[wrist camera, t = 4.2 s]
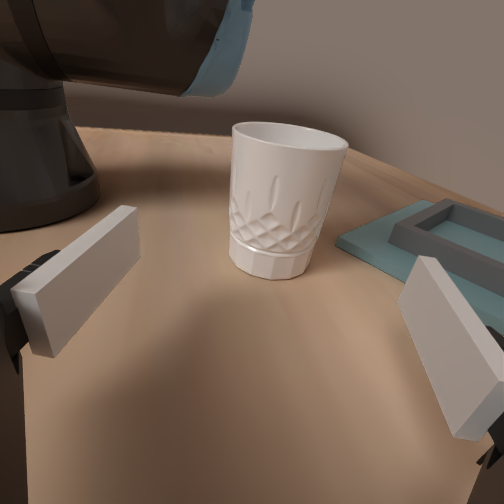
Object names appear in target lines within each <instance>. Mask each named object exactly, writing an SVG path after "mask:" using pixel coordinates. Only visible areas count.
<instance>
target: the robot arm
mask: <svg viewBox="0 0 504 504" xmlns="http://www.w3.org/2000/svg"><path fill="white" fill-rule="evenodd" d="M254 1H255V0H0V232H2V231H12V230H19V229H26V228H31V227H36V226H41V225H45V224H49V223H53V222H57V221H60V220H63V219H66V218H69V217H71V216H74V215H76V214H78V213H80V212H82V211H84V210H86V209H88V208H89V207H91V206H92V205H93V204H94V203H95V202H96V201H97V200H98V198H99V196H100V187H99V180H98V174H97V171H96V168H95V166H94V164H93V162H92V160H91V158H90V156H89V154H88V152H87V150H86V148H85V146H84V144H83V142H82V140H81V138H80V136H79V134H78V132H77V130H76V128H75V126H74V124H73V122H72V121H71V119H70V116H69V114H68V110H67V105H66V100H65V94H64V88H63V81H68V82H75V83H77V82H78V83H85V84H93V85H100V86H107V87H115V88H122V89H129V90H136V91H144V92H151V93H159V94H166V95H173V96H177V97H182V98H184V97H187V96H199V97H217V96H219V95H222V94H224V93H225V92H226V91H227V90H228V89H229V88H230V87H231V85H232V84H233V82H234V80H235V78H236V76H237V73H238V71H239V68H240V65H241V62H242V59H243V55H244V52H245V48H246V44H247V40H248V36H249V32H250V27H251V22H252V17H253V16H252V15H253V14H252V7H253V5H254ZM140 257H141V252H140V239H139V226H138V212H137V208H136V207H130V206H124V205H121V206H120V207H118V208H117V209H116V210H114V211H113V212H112V213H110V214H109V215H108V216H106V217H105V218H104V219H102V220H101V221H100V222H98V223H97V224H96V225H94V226H93V227H92V228H90V229H89V230H88V231H87V232H85V233H84V234H83V235H81V236H80V237H79V238H77V239H76V240H75V241H73V242H72V243H71V244H69V245H68V246H67V247H65V248H64V249H63V250H61V251H60V250H54V251H52V252H49V253H47V254H44V255H42V256H41V257H39V258H38V259H36V260H35V261H34V262H32V263H31V265H28V266H27V267H25V268H24V269H23V271H20V272H18V273H17V274H15V275H14V276H13V277H11V278H10V279H9V280H7V281H6V282H4V283H3V284H2V285H0V504H28V487H27V463H26V439H25V414H24V390H23V366H22V356H21V353H20V350H21V349H22V348H23V347H24V346H25V345H26V344H27V343H28V342H29V345H30V348H31V350H32V353H33V354H35V355H40V356H45V357H50V358H55V357H56V356H57V355H58V353H59V352H60V351H61V350H62V349H63V348H64V346H65V345H66V344H67V343H68V342H69V341H70V339H71V338H72V337H73V336H74V335H75V333H76V332H77V331H78V330H79V329H80V328H81V326H82V325H83V324H84V323H85V322H86V321H87V319H88V318H89V317H90V316H91V315H92V314H93V312H94V311H95V310H96V309H97V308H98V307H99V305H100V304H101V303H102V302H103V301H104V299H105V298H106V297H107V296H108V295H109V294H110V292H111V291H112V290H113V289H114V288H115V287H116V285H117V284H118V283H119V282H120V281H121V280H122V278H123V277H124V276H125V275H126V274H127V272H128V271H129V270H130V269H131V268H132V267H133V265H134V264H135V263H136V262H137V261H138V260H139V258H140ZM397 304H398V307H399V309H400V311H401V314H402V316H403V319H404V321H405V323H406V326H407V328H408V331H409V333H410V335H411V338H412V340H413V343H414V345H415V347H416V350H417V352H418V355H419V357H420V359H421V362H422V364H423V367H424V369H425V371H426V374H427V376H428V379H429V381H430V383H431V386H432V388H433V391H434V393H435V396H436V398H437V400H438V403H439V405H440V408H441V410H442V412H443V415H444V417H445V420H446V422H447V424H448V427H449V429H450V432H451V434H452V436H453V437H455V438H460V439H465V440H470V441H475V442H478V441H479V440H480V439H481V438H482V437H483V436H484V435H485V434H486V432H487V431H488V432H489V433H490V435H491V437H492V439H493V441H494V443H495V444H494V445H493V446H492V447H491V448H490V449H489V450H488V451H487V452H486V453H485V454H484V455H483V456H482V457H481V458H480V459H479V460H478V461H477V462H476V463H477V464H479V465H481V464H482V463H483V465H482V467H481V470H480V472H479V475H478V477H477V479H476V482H475V484H474V487H473V489H472V492H471V494H470V497H469V499H468V502H467V504H504V337H503V336H502V335H501V334H499V333H498V332H497V331H496V330H495V329H493V328H492V327H491V326H485V325H484V324H483V323H482V321H481V320H480V319H479V317H478V316H477V314H476V313H475V312H474V310H473V309H472V307H471V306H470V305H469V303H468V302H467V301H466V299H465V298H464V296H463V295H462V294H461V292H460V291H459V289H458V288H457V287H456V285H455V284H454V282H453V281H452V280H451V278H450V277H449V276H448V274H447V273H446V271H445V270H444V269H443V267H442V266H441V264H440V263H439V262H438V260H437V259H436V258H433V257H427V256H421V255H418V258H417V260H416V262H415V264H414V266H413V268H412V270H411V273H410V275H409V277H408V279H407V281H406V283H405V285H404V288H403V290H402V292H401V294H400V296H399V298H398V300H397Z"/></svg>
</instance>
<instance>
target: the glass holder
mask: <svg viewBox="0 0 504 504" xmlns="http://www.w3.org/2000/svg"><path fill="white" fill-rule="evenodd" d="M335 246H337V247H339V248H341V249H343V250H345V251H347V252H349V253H350V254H352V255H354V256H356V257H358V258H360V259H362V260H363V261H365V262H367V263H369V264H371V265H373V266H375V267H377V268H378V269H380V270H382V271H384V272H386V273H388V274H390V275H392V276H393V277H395V278H397V279H399V280H401V281H403V282H405V283H406V281H407V279H408V277H409V275H410V273H411V270H412V268H413V266H414V264H415V262H416V260H417V258H418V255H421V256H427V257H433V258H436V259H437V260H438V262H439V263H440V264H441V266H442V267H443V269H444V270H445V271H446V273H447V274H448V276H449V277H450V278H451V280H452V281H453V282H454V284H455V285H456V287H457V288H458V289H459V291H460V292H461V294H462V295H463V296H464V298H465V299H466V301H467V302H468V303H469V305H470V306H471V307H472V309H473V310H474V312H475V313H476V314H477V316H478V317H479V319H480V320H481V321H482V323H483V324H484V325H485V326H491V327H492V328H493V329H495V330H496V331H497V332H498V333H500V334H502V335H504V218H503V217H500V216H497V215H494V214H491V213H488V212H485V211H482V210H480V209H477V208H474V207H471V206H468V205H465V204H462V203H459V202H456V201H453V200H450V199H447V198H446V199H444V200H442V201H440V202H438V203H436V204H434V203H431V202H429V201H426V200H421V201H418V202H416V203H414V204H411V205H409V206H407V207H404V208H402V209H400V210H397V211H395V212H393V213H391V214H388V215H386V216H384V217H381V218H379V219H377V220H374V221H372V222H370V223H367V224H365V225H363V226H361V227H358V228H356V229H354V230H351V231H349V232H347V233H344V234H342V235H340V236H338V238H337V242H336V245H335Z"/></svg>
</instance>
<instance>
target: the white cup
mask: <svg viewBox="0 0 504 504" xmlns="http://www.w3.org/2000/svg"><path fill="white" fill-rule="evenodd" d="M348 146H349V144H348V143H347V141H345V140H344V139H342V138H340V137H338V136H335V135H333V134H330V133H326V132H323V131H319V130H315V129H311V128H306V127H301V126H295V125H289V124H281V123H271V122H244V123H238V124H235V125H234V126H233V127H232V150H231V173H230V197H229V224H230V247H229V257H230V258H231V260H232V261H233V262H234V264H235V265H236V267H238V268H239V269H241V270H243V271H245V272H246V273H248V274H250V275H252V276H256V277H260V278H265V279H269V280H281V279H291V278H293V277H296V276H298V275H300V274H303V272H304V271H305V269H306V268H307V266H308V265H309V262H310V259H311V256H312V252H313V249H314V246H315V243H316V241H317V240H318V237H319V235H320V231H321V228H322V225H323V222H324V220H325V217H326V214H327V211H328V208H329V205H330V202H331V199H332V196H333V193H334V189H335V186H336V183H337V180H338V177H339V174H340V170H341V167H342V164H343V161H344V158H345V155H346V152H347V149H348Z"/></svg>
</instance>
